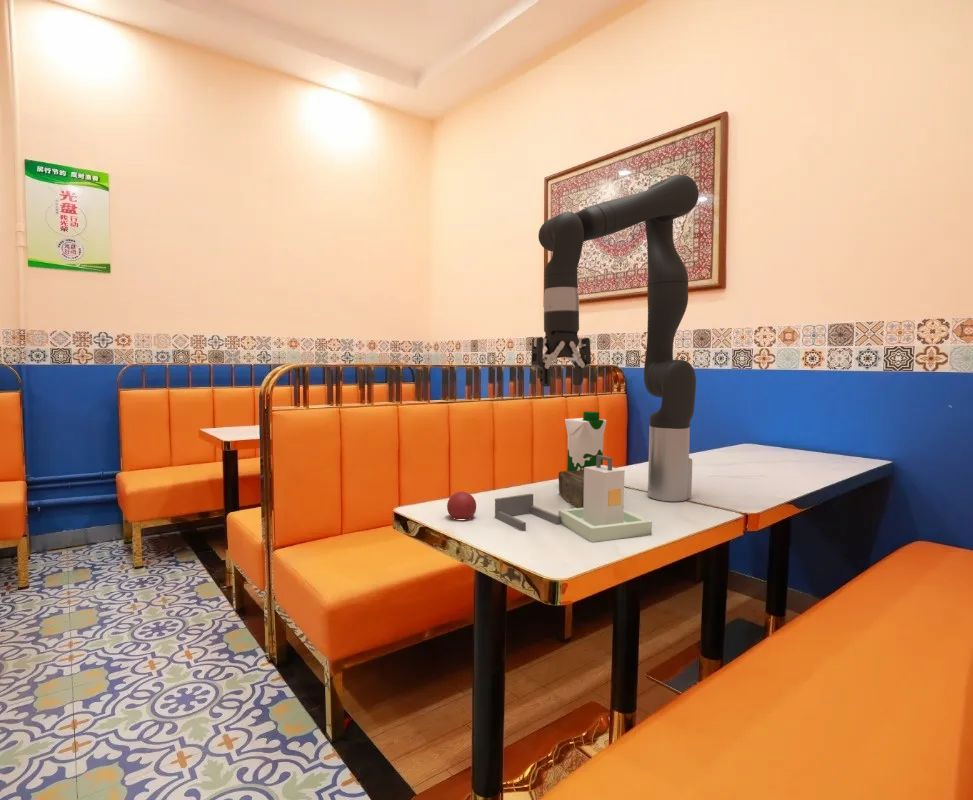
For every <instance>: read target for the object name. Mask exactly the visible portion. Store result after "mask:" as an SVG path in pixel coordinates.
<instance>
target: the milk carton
mask: <svg viewBox="0 0 973 800" xmlns="http://www.w3.org/2000/svg"><path fill="white" fill-rule="evenodd" d="M582 415H583V416H582V417H577V418H565V419H564V424H565V427H566V434H567V455H566V456H567V460H566V461H567V462H566V464H567V465H566V466H567V467H566V471H582V470H584V467H591V466H596V456H597V455H601V456H604V434H605V431H606V430H605V429H606V426H607V425H606V424H607V421H608V420H607V419H601V418H600V411H583V412H582ZM601 465H604V460H602V459H601Z"/></svg>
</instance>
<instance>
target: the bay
mask: <svg viewBox="0 0 973 800" xmlns="http://www.w3.org/2000/svg"><path fill="white" fill-rule="evenodd" d="M525 514H532V515H534V516H536V517H539V518H541V519H543V520H546V521H548V522H551V523H553V524H555V525H561V523H560V518H561V517H560V516H558V514H555V513H552V512H551V511H548V510H544V509H542V508H540V507H538V506H535V505H534V493H526V494H519V495H510V496H505V497H497V498H494V518H496V519H497V520H500V521H501V522H503V523H505V524H508V525H510V526H511V527H513V528H516V529H518V530H519V531H522V532H524V531H526V530H527V524H526V523H527V522H525V521H523V520H521V519H519V518H517V517H514V516H519V515H525Z"/></svg>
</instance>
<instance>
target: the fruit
mask: <svg viewBox="0 0 973 800" xmlns="http://www.w3.org/2000/svg"><path fill="white" fill-rule="evenodd" d="M446 510H447V513H448V514H449V516H450V517H451V518H452V519H453V518H455V519H469V518H471V519H472V518H473V516H474V515H475V513H476V511H477V502H476V499H475V497H474V496H473V495H472V494H471V493H469V492H467V491H457V492H454V493H453V494H452V495H451V496H450V497H449V498H448V500H447V503H446ZM455 519H454V520H455ZM469 520H470V519H469Z"/></svg>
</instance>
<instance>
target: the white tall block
mask: <svg viewBox="0 0 973 800" xmlns="http://www.w3.org/2000/svg"><path fill="white" fill-rule="evenodd" d="M601 459H602V460H603V461H607V465H605V464H603V465H601ZM624 509H625V469H622V468H621V469H620V468H618V467H614V466H613V457H610V456H605V455H603V456H601V455H597V456H596V466H591V467H584V505H583V520H584V521H586V522H588V523H589V524H591V525H593V526H599V525H608V524H617V523H624Z"/></svg>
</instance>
